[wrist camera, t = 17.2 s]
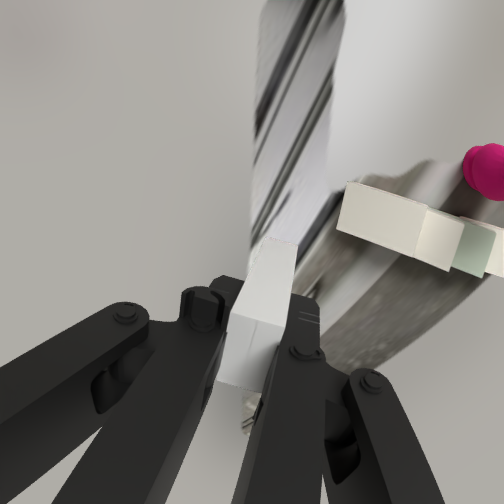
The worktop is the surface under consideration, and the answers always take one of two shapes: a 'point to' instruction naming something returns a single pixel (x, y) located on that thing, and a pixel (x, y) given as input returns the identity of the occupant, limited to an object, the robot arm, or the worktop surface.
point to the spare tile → (472, 247)
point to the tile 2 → (439, 239)
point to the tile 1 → (382, 217)
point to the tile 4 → (494, 250)
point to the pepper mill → (486, 170)
